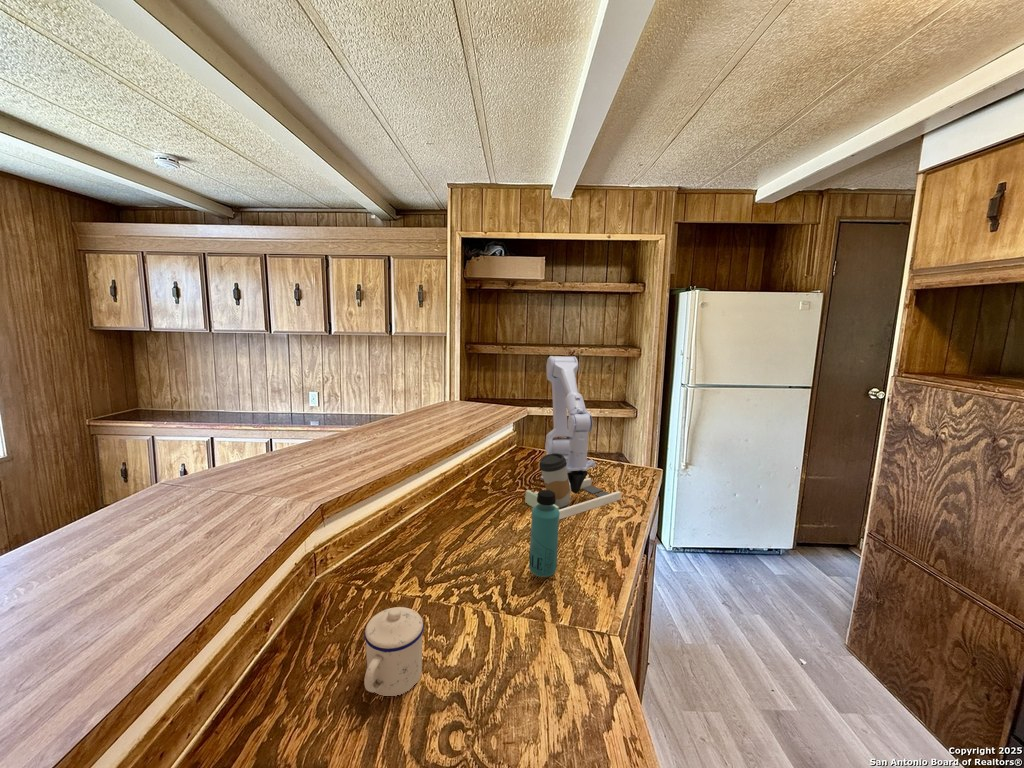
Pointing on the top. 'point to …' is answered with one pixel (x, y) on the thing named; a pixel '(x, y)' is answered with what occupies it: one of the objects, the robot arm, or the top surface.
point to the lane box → (588, 502)
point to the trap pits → (595, 491)
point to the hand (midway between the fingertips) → (575, 492)
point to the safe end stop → (533, 499)
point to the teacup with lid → (393, 651)
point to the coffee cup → (556, 477)
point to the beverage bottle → (544, 535)
